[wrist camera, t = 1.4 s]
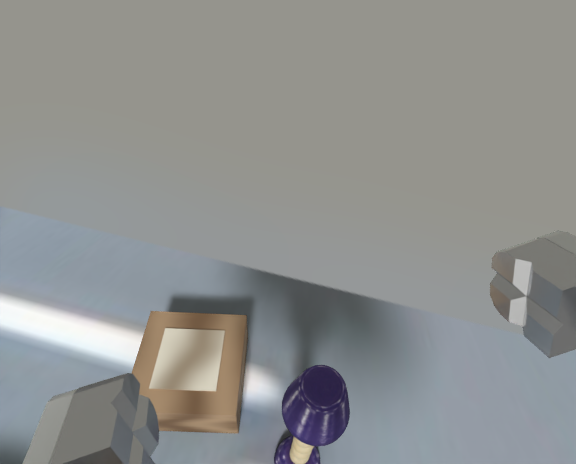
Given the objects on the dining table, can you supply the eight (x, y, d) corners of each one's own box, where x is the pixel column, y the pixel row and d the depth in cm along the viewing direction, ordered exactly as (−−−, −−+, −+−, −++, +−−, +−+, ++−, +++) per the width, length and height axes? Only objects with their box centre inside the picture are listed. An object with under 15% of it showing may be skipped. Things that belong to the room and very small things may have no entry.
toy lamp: (290, 422, 37) (304, 339, 25) (333, 447, 36) (370, 372, 24) (265, 471, 34) (268, 404, 22) (312, 501, 33) (341, 446, 21)
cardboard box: (133, 429, 36) (119, 410, 32) (160, 335, 43) (150, 310, 39) (238, 433, 36) (235, 414, 33) (247, 338, 43) (246, 314, 40)
